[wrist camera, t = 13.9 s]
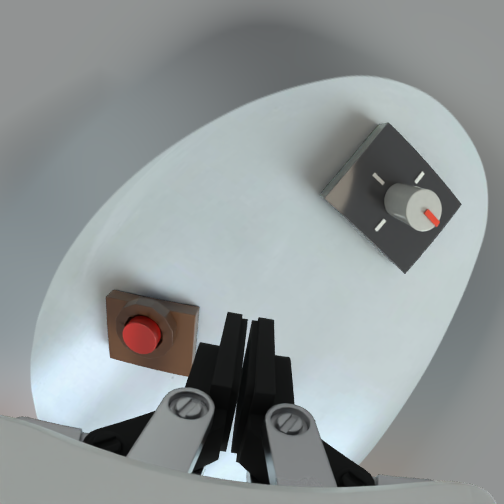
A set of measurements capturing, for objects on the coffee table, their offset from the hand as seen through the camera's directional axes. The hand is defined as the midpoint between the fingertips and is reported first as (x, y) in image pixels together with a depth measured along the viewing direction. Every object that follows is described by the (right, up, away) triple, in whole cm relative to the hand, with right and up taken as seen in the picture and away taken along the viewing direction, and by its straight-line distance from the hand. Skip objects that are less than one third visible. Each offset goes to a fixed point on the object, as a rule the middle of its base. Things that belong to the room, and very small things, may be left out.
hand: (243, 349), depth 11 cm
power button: (-12, -5, +23) cm, 26 cm away
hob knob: (+15, +9, +18) cm, 25 cm away
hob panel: (+15, +9, +21) cm, 27 cm away
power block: (-12, -6, +27) cm, 30 cm away
